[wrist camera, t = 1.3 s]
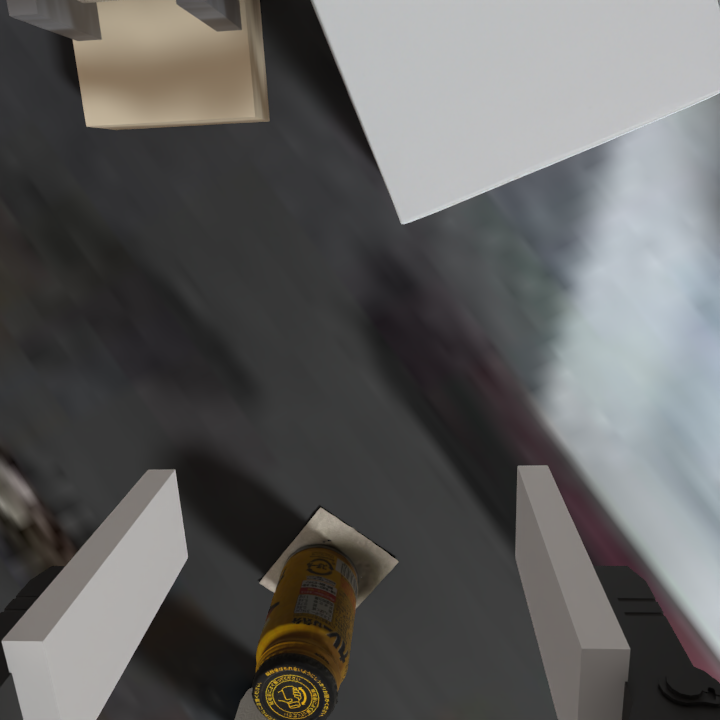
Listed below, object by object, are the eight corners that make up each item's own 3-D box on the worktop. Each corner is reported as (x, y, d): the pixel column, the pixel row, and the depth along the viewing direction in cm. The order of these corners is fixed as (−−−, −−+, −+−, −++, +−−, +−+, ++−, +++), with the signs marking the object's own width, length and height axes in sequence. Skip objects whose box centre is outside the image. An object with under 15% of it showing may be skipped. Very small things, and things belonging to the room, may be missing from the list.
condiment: (259, 581, 51) (215, 703, 39) (320, 505, 48) (293, 612, 37) (335, 630, 52) (313, 764, 40) (399, 558, 49) (395, 678, 38)
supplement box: (401, 205, 42) (394, 233, 25) (319, -6, 38) (249, -136, 22) (605, 119, 39) (749, 87, 23) (536, -113, 36) (644, -351, 19)
